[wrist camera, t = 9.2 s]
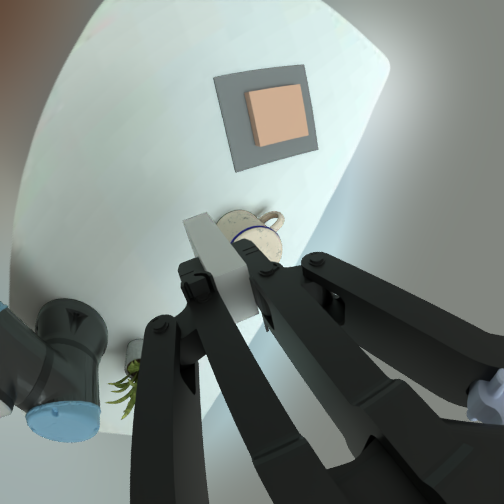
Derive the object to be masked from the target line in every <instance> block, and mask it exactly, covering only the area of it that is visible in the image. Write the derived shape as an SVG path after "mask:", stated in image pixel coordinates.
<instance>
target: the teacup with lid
mask: <svg viewBox="0 0 504 504" xmlns="http://www.w3.org/2000/svg"><path fill="white" fill-rule="evenodd" d="M272 218H278V219H277V221H276V222H275V223H274V224H273V225H272V226H271V227H270V228H269V227H267V226H266V225H265V224H264V223H265V222H267V221H268V220H270V219H272ZM283 223H284V216H283V215H282V214H281V213H280V212H277V211H272V212H268V213H266V214H264V215H263V216H262V217H260V218H259V219H258V218H256V217H255V216H254V215H253V214H251V213H250V212H247V211H243V210H237V211H232V212H230V213H228V214H226V215H224V216H223V217H222V218H221V219H220V220H219V221H218V223H217V227H218V228H219V229H220V230H221V232H222V233H223V234H224V236H225V237H226V238H227V240H228V241H229V242H230V243H233V242H236V241H238V240H241V239H244V238H245V239H248V240H251V241H252V242H253V243H254V244H255V245H256V246H257V247H258V248H259V250H261V251H262V253H263V254H264V255H265V256H266V257H267V258H268V259H269V260H270V261H273V262H278V263H279V261H280V259H281V255H282V243H281V240H280V237H279V236H278V234H277V233H276V232H277V231H278V230H279V229H280V228H281V227H282V225H283Z"/></svg>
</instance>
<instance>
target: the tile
mask: <svg viewBox="0 0 504 504" xmlns="http://www.w3.org/2000/svg"><path fill="white" fill-rule="evenodd" d="M244 94H245V99H246V103H247V108H248V113H249V117H250V122H251V127H252V131H253V136H254V141H255V146H259V147H262V146H266V145H270V144H274V143H278V142H282V141H286V140H290V139H294V138H299V137H303V136H308V135H309V133H308V127H307V121H306V115H305V109H304V103H303V97H302V92H301V86H300V84H296V85H288V86H281V87H275V88H268V89H262V90H257V91H251V92H246V93H244Z"/></svg>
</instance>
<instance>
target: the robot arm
mask: <svg viewBox="0 0 504 504" xmlns="http://www.w3.org/2000/svg"><path fill="white" fill-rule="evenodd" d="M183 223H184V226H185V229H186V232H187V235H188V238H189V241H190V244H191V246H192V249H193V252H194V255H195V258H193V259H191V260H188V261H186V262H183V263H181V264H180V265H179V268H178V273H179V276H180V279H181V289H182V292H183V294H184V296H185V298H186V301H187V305H186V307H185V309H184V310H183V311H182V312H181V313H180V314H178V315H177V316H175V317H173V316H171V315H160V316H157V317H155V318H154V319H152V320H151V321H150V322H149V323H148V324H147V326H146V329H145V333H144V340H143V346H142V352H141V359H140V366H139V374H138V382H137V390H136V399H135V409H134V419H133V432H132V447H131V471H130V472H131V473H130V504H209V498H208V491H207V480H206V472H205V460H204V449H203V438H202V437H203V436H202V422H201V405H200V386H199V363H198V360H199V359H201V358H202V357H203V356H205V355H207V357H208V360H209V362H210V365H211V367H212V370H213V372H214V375H215V377H216V380H217V382H218V384H219V387H220V389H221V392H222V394H223V396H224V398H225V401H226V403H227V405H228V408H229V410H230V412H231V414H232V417H233V419H234V421H235V423H236V426H237V427H238V430H239V432H240V434H241V436H242V438H243V441H244V443H245V445H246V446H247V449H248V451H249V453H250V455H251V458H252V462H253V464H254V467H255V469H256V471H257V473H258V475H259V477H260V479H261V481H262V483H263V485H264V486H265V488H266V490H267V492H268V494H269V496H270V498H271V499H272V501H273V503H274V504H504V336H500V335H495V334H490V333H487V332H485V331H483V330H481V329H480V328H478V327H476V326H474V325H472V324H470V323H468V322H466V321H464V320H462V319H460V318H458V317H457V316H455V315H453V314H451V313H449V312H447V311H445V310H443V309H441V308H439V307H437V306H435V305H433V304H431V303H429V302H427V301H425V300H423V299H421V298H419V297H417V296H415V295H413V294H411V293H409V292H407V291H405V290H403V289H401V288H399V287H397V286H395V285H392V284H391V283H388V282H386V281H384V280H382V279H380V278H378V277H376V276H374V275H372V274H370V273H367V272H366V271H363V270H361V269H359V268H357V267H355V266H353V265H351V264H349V263H346V262H344V261H342V260H340V259H338V258H336V257H334V256H331V255H329V254H327V253H324V252H313V253H310V254H307V255H305V256H304V257H303V258H302V261H301V265H299V266H294V267H283V266H282V265H281V264H279V263H278V262H273V261H270V260H269V259H268V258H267V257H266V256H265V255H264V254H263V253H262V251H261V250H259V248H258V247H257V246H256V245H255V244H254V243H253V242H252V241H251V240H248V239H245V238H244V239H241V240H238V241H236V242H233V243H230V242H229V241H228V240H227V238H226V237H225V236H224V234H223V233H222V232H221V230H220V229H219V228H218V227H217V225H216V224H215V223H214V221H213V220H212V219H211V217H210V216H209V215H208V213H207V212H205V213H203V214H200V215H197V216H195V217H192V218H189V219H186V220H184V221H183ZM335 294H336V295H335ZM337 295H338V296H337ZM257 306H258V307H257ZM258 308H259V309H260V310H261V312H262V316H263V320H264V324H265V328H266V331H267V332H268V331H269V329H270V331H271V332H272V334H273V335H274V336H275V338H276V339H277V341H278V342H279V344H280V346H281V347H282V348H283V350H284V351H285V353H286V354H287V356H288V357H289V359H290V360H291V362H292V363H293V365H294V366H295V368H296V369H297V370H298V372H299V373H300V375H301V376H302V378H303V379H304V381H305V382H306V383H307V385H308V386H309V388H310V389H311V391H312V392H313V394H314V395H315V396H316V398H317V399H318V401H319V402H320V403H321V405H322V406H323V408H324V409H325V411H326V412H327V413H328V415H329V416H330V417H331V419H332V420H333V422H334V423H335V425H336V426H337V427H338V429H339V430H340V431H341V433H342V434H343V436H344V438H345V440H346V443H347V445H348V448H349V449H350V451H351V453H352V454H353V456H354V457H355V460H353V461H352V462H349V463H346V464H343V465H340V466H337V467H333V468H330V469H326V468H325V467H324V465H323V464H322V462H321V461H320V459H319V458H318V456H317V455H316V453H315V452H314V450H313V449H312V447H311V446H310V444H309V443H308V441H307V440H306V439H305V438H304V437H303V436H301V434H299V432H298V430H297V429H296V427H295V425H294V424H293V422H292V421H291V419H290V417H289V416H288V414H287V412H286V411H285V409H284V407H283V406H282V404H281V402H280V401H279V399H278V397H277V396H276V394H275V393H274V391H273V389H272V387H271V386H270V384H269V382H268V380H267V379H266V377H265V375H264V374H263V372H262V370H261V368H260V367H259V365H258V363H257V361H256V360H255V358H254V356H253V354H252V353H251V351H250V349H249V347H248V345H247V344H246V342H245V340H244V338H243V336H242V335H241V333H240V331H239V329H238V327H237V326H236V323H238V322H241V321H243V320H245V319H248V318H250V317H252V316H255V315H257V314H259V311H258ZM268 328H269V329H268ZM35 332H36V333H34V332H33V331H32V330H31V329H30V328H29V327H28V326H27V325H25V324H24V323H23V322H22V321H21V320H20V319H19V318H18V317H17V316H16V315H15V314H14V313H13V312H12V311H11V310H10V309H9V308H8V306H7V305H4V304H3V303H2V302H1V301H0V418H1V417H4V416H7V415H10V414H11V413H12V410H13V407H14V405H15V406H17V407H18V408H20V409H21V410H23V411H25V412H26V413H27V414H26V416H25V418H26V420H27V425H28V426H29V427H30V428H31V430H32V431H33V432H35V433H36V434H38V435H40V436H42V437H44V438H47V439H49V440H53V441H58V442H71V443H72V442H81V441H85V440H88V439H90V438H92V437H93V436H95V435H96V434H97V432H98V430H99V427H100V413H101V410H100V400H99V379H98V365H99V363H100V361H101V357H102V356H103V354H104V353H105V350H106V348H107V341H108V332H107V327H106V325H105V322H104V321H103V319H102V317H101V316H100V315H99V314H98V313H97V312H96V311H95V310H94V309H92V308H91V307H90V306H88V305H86V304H84V303H82V302H79V301H76V300H72V299H57V300H53V301H51V302H49V303H47V304H46V305H45V306H43V308H42V309H41V310H40V312H39V314H38V317H37V321H36V326H35ZM359 346H360V347H361V348H363V349H365V350H366V351H368V352H369V353H371V354H372V355H374V356H375V357H377V358H379V359H380V360H382V361H383V362H385V363H386V364H388V365H390V366H391V367H393V368H394V369H396V370H398V371H399V372H401V373H402V374H404V375H405V376H407V377H408V378H410V379H412V380H413V381H415V382H416V383H418V384H420V385H421V386H423V387H424V388H426V389H428V390H429V391H431V392H433V393H434V394H436V395H437V396H439V397H441V398H443V399H445V400H446V401H448V402H451V403H454V404H456V405H459V406H463V407H467V408H468V410H467V417H468V419H469V420H471V421H476V420H479V421H481V422H482V423H474V422H465V421H458V420H450V419H444V418H440V417H439V416H438V415H437V414H436V413H435V412H434V411H433V410H432V409H431V408H430V407H429V406H428V405H427V404H426V402H424V400H423V399H422V398H421V397H420V396H419V395H418V394H417V393H416V392H415V391H414V390H413V389H412V388H411V387H410V386H409V385H408V384H407V383H406V382H405V381H403V380H400V379H394V380H392V379H390V378H389V377H387V376H386V375H385V374H384V373H383V371H381V369H380V368H379V367H378V366H377V365H376V364H375V363H374V362H373V361H372V360H371V359H370V358H369V356H368V355H367V354H366V353H365V352H364V351H363V350H362V349H361V348H360V347H359Z"/></svg>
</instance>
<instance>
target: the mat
mask: <svg viewBox="0 0 504 504" xmlns="http://www.w3.org/2000/svg"><path fill="white" fill-rule="evenodd" d="M213 79H214V83H215V87H216V91H217V96H218V100H219V104H220V108H221V113H222V117H223V121H224V125H225V130H226V134H227V138H228V142H229V147H230V151H231V155H232V159H233V164H234V168H235V172H239V171H243V170H246V169H249V168H253V167H256V166H259V165H263V164H266V163H270V162H273V161H277V160H280V159H284V158H288V157H291V156H295V155H299V154H303V153H307V152H311V151H315V150H318V144H317V137H316V130H315V123H314V117H313V111H312V104H311V99H310V93H309V87H308V82H307V77H306V72H305V67H304V65H294V66H283V67H274V68H266V69H259V70H252V71H246V72H240V73H234V74H229V75H223V76H218V77H214V78H213ZM296 84H300V86H301V92H302V97H303V103H304V109H305V115H306V121H307V127H308V133H309V135H308V136H303V137H299V138H294V139H290V140H286V141H282V142H278V143H274V144H270V145H266V146H262V147H259V146H255V141H254V136H253V131H252V127H251V122H250V117H249V113H248V108H247V103H246V99H245V94H244V93H246V92H251V91H257V90H262V89H268V88H275V87H281V86H288V85H296Z"/></svg>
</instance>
